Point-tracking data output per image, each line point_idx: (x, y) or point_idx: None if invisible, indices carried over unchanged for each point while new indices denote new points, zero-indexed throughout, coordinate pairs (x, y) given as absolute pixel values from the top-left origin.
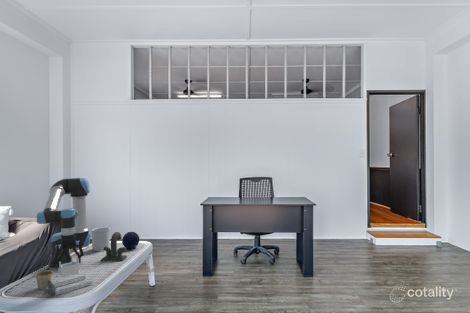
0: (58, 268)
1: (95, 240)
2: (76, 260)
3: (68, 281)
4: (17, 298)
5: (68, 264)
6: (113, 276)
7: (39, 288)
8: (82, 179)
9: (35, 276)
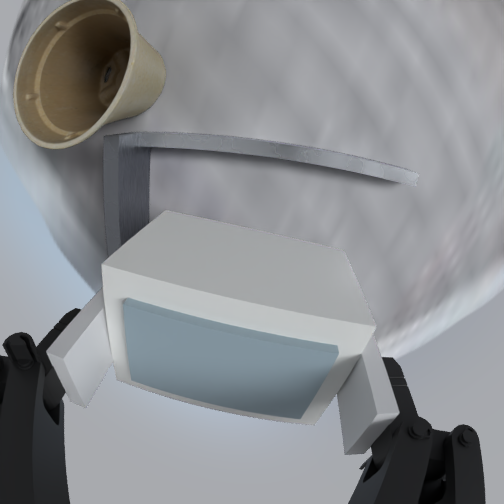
0: (102, 292)
1: None
2: (364, 375)
3: (279, 157)
4: (20, 150)
5: (204, 394)
6: (484, 298)
7: (96, 101)
8: None
9: (15, 95)
